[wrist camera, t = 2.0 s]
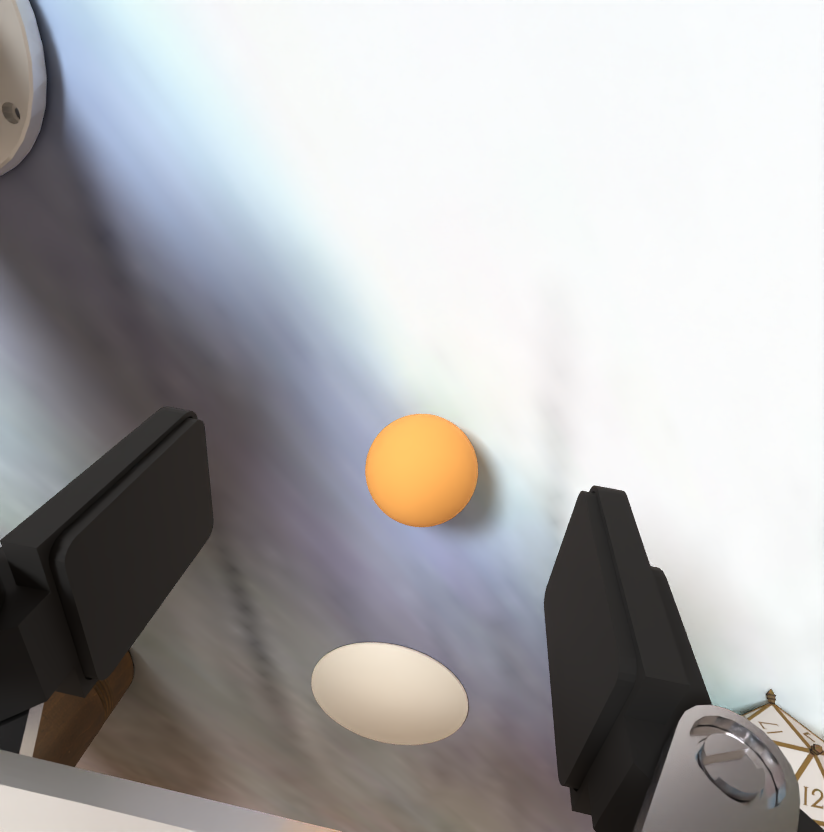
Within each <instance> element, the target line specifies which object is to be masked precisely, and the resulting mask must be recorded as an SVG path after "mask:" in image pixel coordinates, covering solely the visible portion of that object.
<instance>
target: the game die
mask: <svg viewBox="0 0 824 832" xmlns="http://www.w3.org/2000/svg"><path fill="white" fill-rule="evenodd" d="M766 695H767V699H768V701H769V703H768V704H766V705H763V706H761V707H759V708H757V709H754V710H752V711H750V712H748V713H745V714H743V715H741V716H743V717H745V718H746V719H748V720H749V721H750V722H752V723H753V724H755V725H756V726H757V727H759V728H760V729H761V730H763V731H764V732H765V733H766V734H767V735H768V736H769V738H770V739H771V740H772V741H773V742H774V743H775V744H776V745H777V746H778V747H779V748H780V750H781V751H782V753H783V754H784V756H785V757H786V759H787V760H788V761H789V763H790V764H791V766H792V769H793V771H794V774H795V776H796V779H797V781H798V783H799V792H800V809H801V810H802V811H804V812H805V813H806V814H807V815H808V816H809V817H810V818H811V819H813V820H814V821H815V822H816V823H817V824H818V825H819V826H820V827H822V828H823V829H824V741H823V740H822V739H820V738H819V737H818V736H816V735H815V734H814V733H812V732H811V731H810V730H808V729H807V728H806V727H804V726H803V725H802V724H801V723H799V722H798V721H797V720H795V719H794V718H793V717H791V716H790V715H789V714H787V713H786V712H785V711H783V710H782V709H781V708H779V707H778V706H777V705H775V700H776V699H775V696H776V695H775V694H774V693H773V691H772V690H771V689H770V691H769V692H768V693H767V694H766Z"/></svg>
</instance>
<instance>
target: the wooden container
mask: <svg viewBox="0 0 824 832" xmlns="http://www.w3.org/2000/svg"><path fill="white" fill-rule="evenodd" d="M133 674H134V669H133V662H132V659H131V656H130V653H129V651H127V653H126V654H125V656H124V657H123V658H122V660H121V661H120V663H119V664H118V665H117V667H116V668H115V670H114V671H113V672H112V673H111V675H110V676H109V677H108V678H106V679H105V680H102V681H101V680H98V681H97V682H96V684H95V685H94V686H93V688H92V689H91V691H90V692H89V693H88V695H87V696H86V697H85V698H82V697H78V696H73V695H69V694H65V693H60V692H56V691H55V692H54V693H53V694H52V695H51V697H50V698H49V699H48V701H46V702H44V705H43V710H42V714H41V719H40V724H39V728H38V733H37V737H36V742H35V747H34V751H33V756H32V757H33V758H38V759H42V760H46V761H50V762H55V763H59V764H63V765H67V766H71V767H75V766H76V764H77V763H78V761H79V760H80V758H81V757H82V755H83V754H84V752H85V751H86V749H87V748H88V746H89V745H90V743H91V742H92V740H93V739H94V737H95V736H96V734H97V733H98V731H99V730H100V729H101V727H102V725H103V724H104V722H105V721H106V719H107V718H108V716H109V715H110V714H111V712H112V711H113V709H114V708H115V706H116V705H117V703H118V702H119V700H120V699H121V698H122V696H123V695H124V693H125V692H126V690H127V689H128V687H129V685H130V684H131V682H132V679H133Z"/></svg>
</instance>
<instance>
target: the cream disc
mask: <svg viewBox="0 0 824 832" xmlns="http://www.w3.org/2000/svg"><path fill="white" fill-rule="evenodd" d="M311 685H312V691H313V694H314V696H315V699H316V701H317V702H318V704H319V705H320V707H321V708H322V709H323V710H324V711H325V713H326V714H327V715H329V716H330V717H331V718H332V719H333V720H334V721H336V722H337V723H338V724H340V725H341V726H343V727H345V728H346V729H348V730H350V731H352V732H354V733H356V734H358V735H361V736H363V737H366V738H369V739H372V740H376V741H380V742H384V743H390V744H398V745H420V744H427V743H432V742H436V741H439V740H441V739H444V738H446V737H448V736H450V735H451V734H453V733H454V732H456V731H457V730H458V729H459V728H460V727H461V725H462V724H463V723H464V721H465V719H466V716H467V712H468V699H467V695H466V692H465V690H464V687H463V686H462V684H461V683H460V681H459V680H458V678H457V677H456V676H455V675H454V674H453V673H452V672H451V671H450V670H449V669H448V668H446V667H445V666H444V665H442V664H441V663H440V662H438V661H437V660H435V659H433V658H431V657H430V656H428V655H425V654H423V653H421V652H419V651H416V650H413V649H410V648H407V647H404V646H400V645H395V644H389V643H380V642H362V643H354V644H349V645H345V646H342V647H339V648H336V649H334V650H332V651H331V652H329V653H327V654H326V655H325V656H323V657H322V658H321V660H320V661H319V662H318V663H317V665H316V666H315V669H314V671H313V674H312V680H311Z"/></svg>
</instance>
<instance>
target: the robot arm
mask: <svg viewBox="0 0 824 832" xmlns="http://www.w3.org/2000/svg"><path fill="white" fill-rule="evenodd" d="M46 87H47V76H46V68H45V59H44V51H43V45H42V42H41V38H40V34H39V30H38V26H37V23H36V19H35V15H34V12H33V10H32V7H31V5H30V2H29V0H0V176H2V175H3V174H5V173H6V172H8V171H10V170H11V169H13V168H14V167H16V166H17V165H18V164H19V163H20V162H21V161H22V160H23V159H24V158H25V156H26V155H27V154H28V153H29V152H30V151H31V149H32V147H33V145H34V143H35V140H36V138H37V136H38V134H39V132H40V130H41V125H42V121H43V116H44V112H45V108H46ZM212 528H213V511H212V500H211V490H210V479H209V468H208V457H207V447H206V436H205V427H204V423H203V421H201V420H198V419H197V416H196V414H195V413H194V412H193V411H188V410H183V409H177V408H172V407H163V408H161V409H159V410H158V411H157V412H156V413H155V414H153V415H152V416H151V417H150V418H148V419H147V420H146V421H145V422H144V423H142V424H141V425H140V426H139V427H137V428H136V429H135V430H134V431H133V432H131V433H130V434H129V435H128V436H127V437H125V438H124V439H123V440H122V441H120V442H119V443H118V444H117V445H116V446H114V447H113V448H112V449H111V450H110V451H108V452H107V453H106V454H105V455H103V456H102V457H101V458H100V459H99V460H97V461H96V462H95V463H94V464H93V465H91V466H90V467H89V468H88V469H86V470H85V471H84V472H83V473H82V474H80V475H79V476H78V477H77V478H76V479H74V480H73V481H72V482H71V483H69V484H68V485H67V486H66V487H65V488H63V489H62V490H61V491H60V492H58V493H57V494H56V495H55V496H54V497H52V498H51V499H50V500H49V501H48V502H46V503H45V504H44V505H43V506H41V507H40V508H39V509H38V510H37V511H35V512H34V513H33V514H32V515H31V516H29V517H28V518H27V519H26V520H24V521H23V522H22V523H21V524H20V525H18V526H17V527H16V528H15V529H14V530H12V531H11V532H10V533H9V534H7V535H6V536H5V537H4V538H3V539H1V540H0V542H1V545H2V547H1V548H0V832H341V831H337V830H333V829H329V828H325V827H321V826H317V825H313V824H309V823H304V822H300V821H296V820H292V819H288V818H284V817H280V816H276V815H271V814H267V813H263V812H259V811H255V810H251V809H247V808H243V807H238V806H234V805H230V804H226V803H222V802H218V801H214V800H209V799H205V798H201V797H197V796H193V795H189V794H185V793H180V792H176V791H172V790H168V789H164V788H160V787H156V786H151V785H147V784H143V783H139V782H135V781H131V780H127V779H122V778H118V777H114V776H110V775H105V774H101V773H97V772H93V771H88V770H84V769H80V768H76V767H71V766H67V765H63V764H59V763H55V762H50V761H46V760H42V759H38V758H33V757H32V756H33V751H34V747H35V742H36V737H37V733H38V728H39V724H40V719H41V714H42V710H43V705H44V702H46V701H48V699H49V698H50V697H51V695H52V694H53V693H54V692H55V691H56V692H60V693H65V694H69V695H73V696H78V697H82V698H85V697H86V696H87V695H88V693H89V692H90V691H91V689H92V688H93V686H94V685H95V684H96V682H97V681H98V680H101V681H102V680H105V679H106V678H108V677H109V676H110V675H111V673H112V672H113V671H114V670H115V668H116V667H117V665H118V664H119V663H120V661H121V660H122V658H123V657H124V656H125V654H126V653H127V651H128V650H129V649H130V647H131V646H132V644H133V643H134V642H135V640H136V639H137V637H138V636H139V635H140V633H141V632H142V630H143V629H144V628H145V626H146V625H147V623H148V622H149V621H150V619H151V618H152V616H153V615H154V614H155V612H156V611H157V609H158V608H159V607H160V605H161V604H162V603H163V601H164V600H165V598H166V597H167V596H168V594H169V593H170V591H171V590H172V589H173V587H174V586H175V584H176V583H177V582H178V580H179V579H180V577H181V576H182V575H183V573H184V572H185V570H186V569H187V568H188V566H189V565H190V563H191V562H192V561H193V559H194V558H195V556H196V555H197V554H198V552H199V551H200V549H201V548H202V547H203V545H204V544H205V543H206V541H207V540H208V538H209V536H210V534H211V532H212ZM544 612H545V624H546V636H547V648H548V659H549V671H550V683H551V695H552V707H553V719H554V731H555V743H556V755H557V767H558V777H559V781H560V784H561V785H562V786H567V787H570V795H571V805H572V811H575V812H580V813H584V814H588V815H592V822H593V829H594V830H595V831H596V832H824V829H823V828H822V827H820V826H819V825H818V824H817V823H816V822H815V821H814V820H813V819H811V818H810V817H809V816H808V815H807V814H806V813H805V812H804V811H802V810H801V809H800V792H799V783H798V781H797V779H796V776H795V774H794V771H793V769H792V766H791V764H790V763H789V761H788V760H787V759H786V757H785V756H784V754H783V753H782V751H781V750H780V748H779V747H778V746H777V745H776V744H775V743H774V742H773V741H772V740H771V739H770V738H769V736H768V735H767V734H766V733H765V732H764V731H763V730H761V729H760V728H759V727H757V726H756V725H755V724H753V723H752V722H750V721H749V720H748V719H746V718H745V717H743V716H741V715H739V714H737V713H735V712H733V711H731V710H729V709H726V708H722V707H718V706H714V705H712V704H711V701H710V698H709V695H708V692H707V690H706V687H705V684H704V681H703V679H702V676H701V673H700V670H699V667H698V665H697V662H696V659H695V656H694V654H693V651H692V648H691V645H690V642H689V640H688V637H687V634H686V631H685V628H684V626H683V623H682V620H681V617H680V615H679V612H678V609H677V606H676V603H675V601H674V598H673V595H672V592H671V590H670V587H669V584H668V581H667V578H666V576H665V574H664V573H663V571H662V570H661V569H659V568H657V567H652V566H650V564H649V561H648V558H647V555H646V552H645V549H644V546H643V543H642V540H641V537H640V534H639V531H638V528H637V525H636V522H635V519H634V516H633V513H632V510H631V507H630V504H629V501H628V498H627V495H626V493H625V492H624V491H622V490H616V489H611V488H605V487H600V486H592V488H591V489H590V491H589V492H586V491H581V492H580V494H579V496H578V498H577V501H576V504H575V507H574V510H573V513H572V515H571V518H570V521H569V524H568V527H567V530H566V533H565V536H564V538H563V541H562V544H561V547H560V550H559V553H558V556H557V559H556V561H555V564H554V567H553V570H552V573H551V576H550V579H549V581H548V584H547V587H546V591H545V598H544Z"/></svg>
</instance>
